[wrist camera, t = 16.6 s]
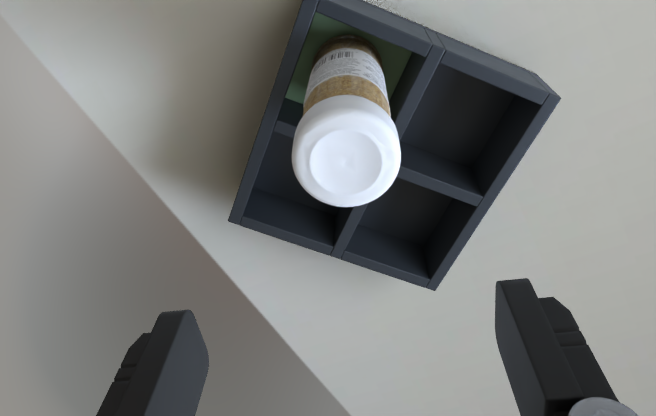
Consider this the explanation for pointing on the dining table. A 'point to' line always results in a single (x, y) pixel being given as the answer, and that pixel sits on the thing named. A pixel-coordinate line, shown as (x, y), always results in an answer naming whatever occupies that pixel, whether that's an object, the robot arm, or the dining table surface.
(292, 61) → the divided storage tray
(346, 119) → the sprinkles bottle
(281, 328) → the dining table surface
